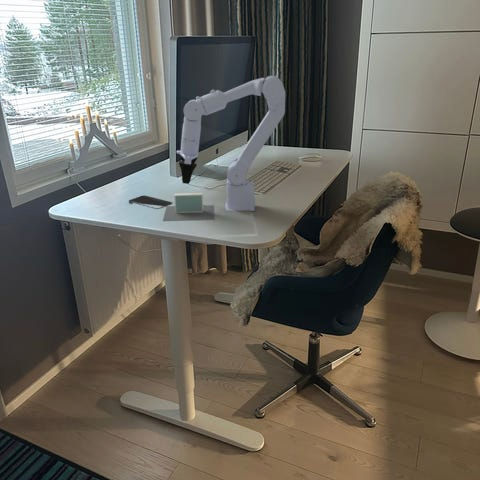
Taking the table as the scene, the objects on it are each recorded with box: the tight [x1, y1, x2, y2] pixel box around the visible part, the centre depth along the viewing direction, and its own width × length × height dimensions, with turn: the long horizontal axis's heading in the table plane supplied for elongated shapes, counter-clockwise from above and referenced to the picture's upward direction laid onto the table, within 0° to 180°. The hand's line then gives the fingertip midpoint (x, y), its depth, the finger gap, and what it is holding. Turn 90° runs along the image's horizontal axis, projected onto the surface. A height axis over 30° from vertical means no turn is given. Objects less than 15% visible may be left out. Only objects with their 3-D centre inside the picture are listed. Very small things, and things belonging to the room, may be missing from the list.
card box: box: [174, 192, 204, 213], centre depth 148 cm, size 9×2×6 cm, turn 93°
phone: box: [128, 195, 173, 210], centre depth 159 cm, size 8×1×15 cm
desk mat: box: [162, 204, 215, 222], centre depth 148 cm, size 16×14×1 cm
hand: (186, 179), depth 150 cm, fingers open, 7 cm apart
